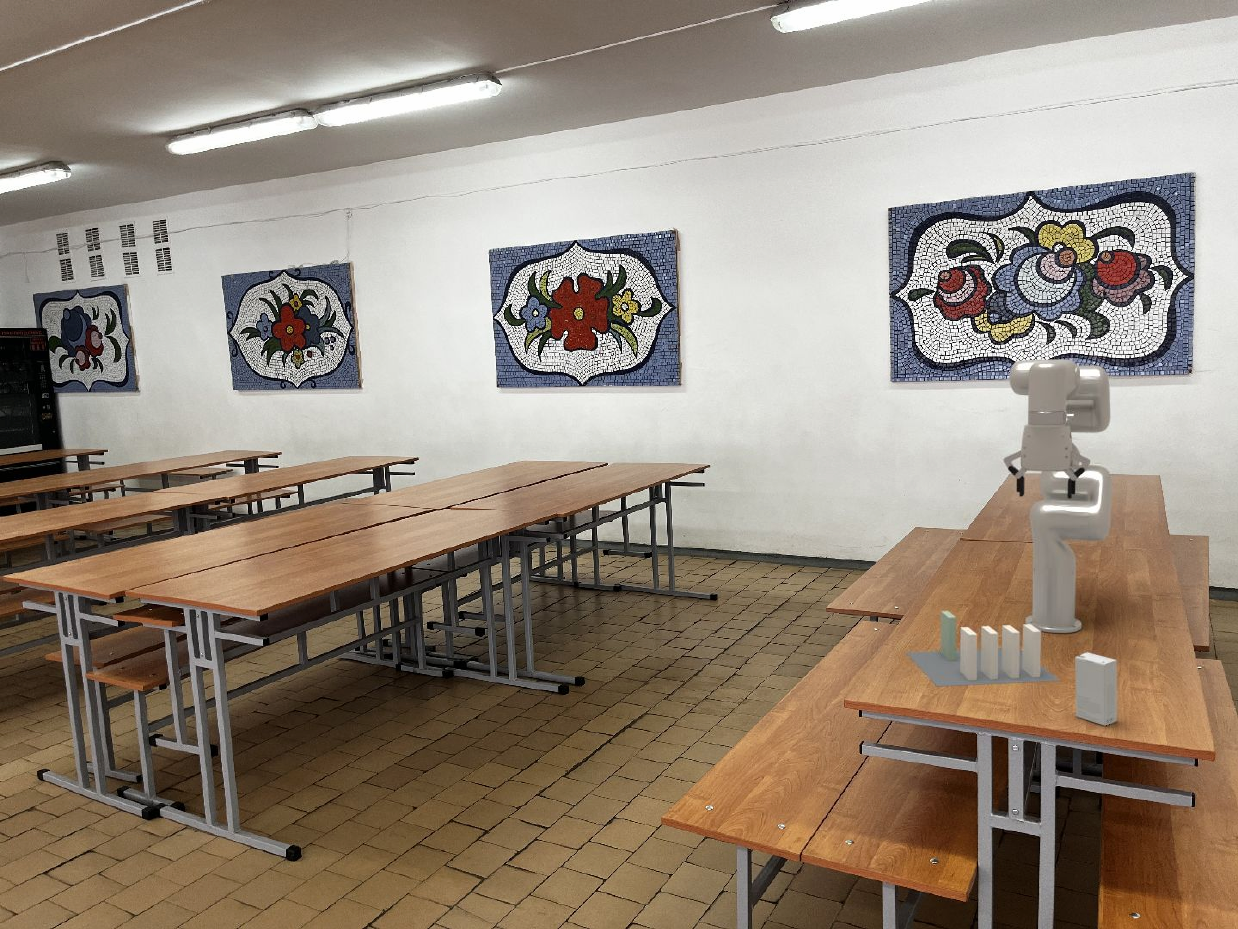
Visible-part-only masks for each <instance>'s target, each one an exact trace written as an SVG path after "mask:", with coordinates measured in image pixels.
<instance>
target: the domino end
mask: <svg viewBox="0 0 1238 929" xmlns="http://www.w3.org/2000/svg"><path fill="white" fill-rule="evenodd" d="M956 650H957V617H956V616H955V614H952V613H951V612H950V610H941V611H940V651H941V654H942V655H943V656H944V657H945V658H946V659H947V660H948V661H956Z"/></svg>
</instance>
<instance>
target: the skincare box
mask: <svg viewBox="0 0 1238 929" xmlns="http://www.w3.org/2000/svg"><path fill="white" fill-rule="evenodd" d="M1074 661H1075V662H1074V663H1075V664H1074V665H1075V666H1074V667H1075V669H1074V670H1075V672H1074V673H1075V716H1076V717H1077V718H1079V719H1083V720H1086V721H1089V722H1092V723H1094V724H1095V723H1096V724H1099V725H1101V726H1105V727H1106V725H1107V726H1110V725H1112V724H1113V723H1117V721H1118V660H1117V659H1114V658H1109V657H1107V656H1103V655H1098V654H1094V653H1091V652H1084V653H1082V654H1080V655H1077V656H1075V657H1074ZM1109 724H1110V725H1109Z"/></svg>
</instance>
